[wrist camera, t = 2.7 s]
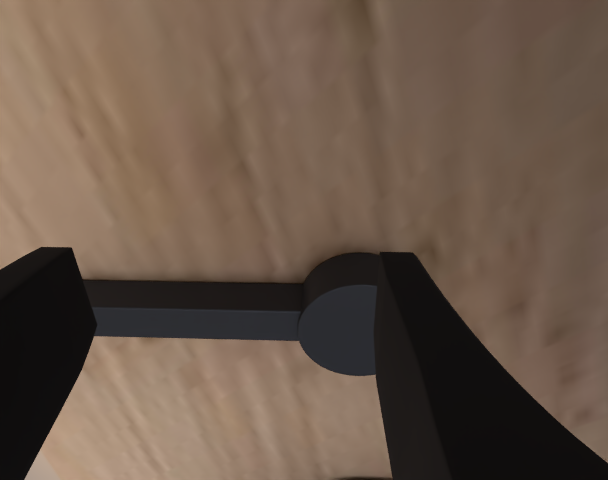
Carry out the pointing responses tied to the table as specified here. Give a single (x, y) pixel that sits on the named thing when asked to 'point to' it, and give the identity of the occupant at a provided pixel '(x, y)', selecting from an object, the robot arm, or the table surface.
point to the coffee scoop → (255, 311)
